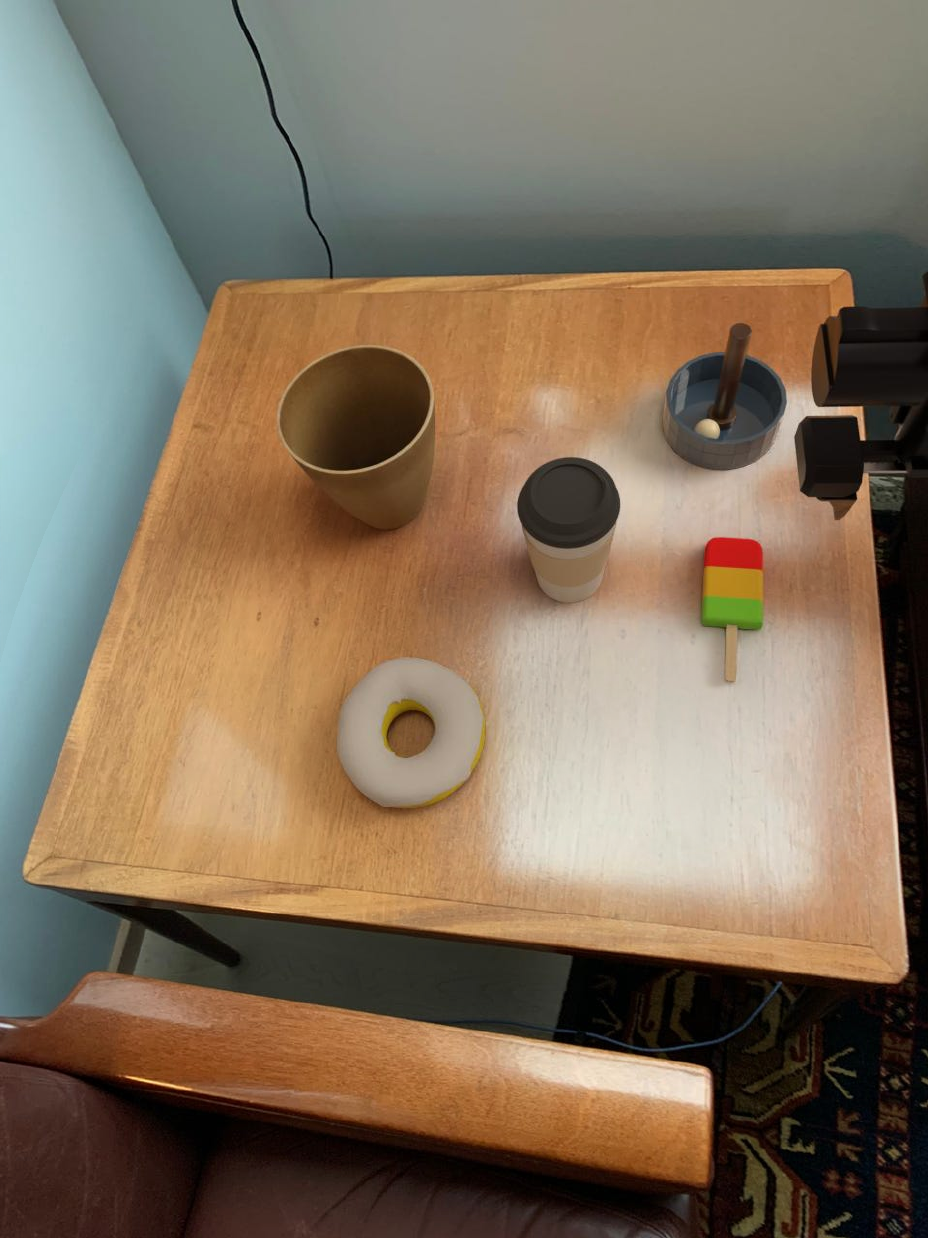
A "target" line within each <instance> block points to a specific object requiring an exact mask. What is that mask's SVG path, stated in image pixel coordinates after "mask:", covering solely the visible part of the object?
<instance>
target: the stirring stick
mask: <svg viewBox="0 0 928 1238" xmlns="http://www.w3.org/2000/svg"><path fill="white" fill-rule="evenodd" d="M752 333H753V330H752V328H751V326H750V325H749V324H747V323H745V322H738V323H734V324H733V325H732V326H731V327H730V328H729V332H728V336H727V341H726V346H725V350H724V352H725V355H724V360H723V364H722V369H721V374H720V378H719V383H718V388H717V392H716V397H715V402H714V403H713V404H712V405H711V406H710V407H709V408H708V411H707V416H706V419H711V420H714V421H715V422H716V423H717V424H718V426H719V428H720V430H726V429H729V428H730V427H732V426H733V424H734V423H735V419H736V415H737V411H736V409H735V407H734V403H735V399H736V395H737V391H738V387H739V382H740V378H741V374H742V370H743V366H744V362H745V358H746V355H748V349H749V345H750V342H751V337H752Z"/></svg>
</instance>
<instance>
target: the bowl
mask: <svg viewBox="0 0 928 1238" xmlns="http://www.w3.org/2000/svg"><path fill="white" fill-rule="evenodd" d="M724 355H725V351H714V352H710V353H706V354H701V355H699V356H697V357H694V358H692V359H690V360H688V361H686V362H685V363H684V364H683V365H681V366H680V367H679V368H678V369H677V370H676V371H675V372H674V374H673V375H672V377H670V379H669V382H668V384H667V388H666V391H665V400H664V406H663V413H662V431H663V434H664V437H665V439H666V442H667V443H668V445H669V446H670V448H671V449H672V450H673V451H674V452H675V453H676V454H677V455H678V456H679V457H681V458H682V459H683V460H685V461H686V462H689V463H690V464H692V465H694V466H698V467H700V468H704V469H708V470H716V471H718V470H719V471H725V470H726V471H727V470H734V469H740V468H744V467H746V466H748V465H751V464H753V463H755V462H756V461H758V460H760V459H761V458H762V457H764V456H765V455H766V454H767V453H768V452H769V450H770V449H771V448H772V447H773V445H774V443H775V441H776V439H777V436H778V434H779V430H780V427H781V425H782V421H783V419H784V416H785V412H786V409H787V403H788V399H787V389H786V387H785V385H784V383H783V381H782V379H781V377H780V376H779V374H778V373H777V372H776V371H775V370H774V369H773V368H772V367H771V366H770V365H769V364H766V362H764V361H762V360H761V359H759V358H756V357H754V356H751V355H748V354H746V358H745V362H744V366H743V370H742V374H741V378H740V382H739V387H738V391H737V395H736V399H735V403H734V407H735V409H736V411H737V415H736V419H735V423H734V424H733V426H732V427H730V428H729V429H726V430H720V434H719V437H718V438H717V439H713V438H708V437H705V436H703V435H700V434H698V433H696V432H694V429H695V427H696V425H697V424H698V423H699V422H700V421H702V420H704V419H706V416H707V411H708V408H709V407H710V406H711V405H712V404H713V403H714V402H715V397H716V392H717V388H718V383H719V378H720V374H721V369H722V364H723V360H724Z"/></svg>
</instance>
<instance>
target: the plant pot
mask: <svg viewBox="0 0 928 1238" xmlns="http://www.w3.org/2000/svg"><path fill="white" fill-rule="evenodd" d="M288 383H289V384H288V385H287V386H286V388H285V390H284V391H283V393H282V395H281V397H280V399H279V403H278V405H277V409H276V429H277V430H276V431H277V433H278V434H277V435H278V437H279V440H280V442H281V444H282V446H283V447H284V449H285V450H286V451H287V452H288V454H289V455H290V456H291V457H292V459H293V461H295V462H296V464H297V465H298V466H299V467H300V468H301V469H302V471H303V472H304V473H305V474H306V475H307V476H308V478H309V479H310V480H311V481H312V482H313V483H314V484H315V485H316V486H317V487H318V488H319V489H320V490H321V491H322V493H324V494H325V495H326V496H327V497H329V498H330V499H331V500H332V501H333V502H334V503H335V504H337V505H338V506H339V507H340V508H342V509H343V510H345V511H346V512H347V513H348V514H350V515H351V516H353V517H355V518H356V519H358V520H359V521H361V522H363V523H365V524H366V525H368V526H370V527H372V528H374V529H378V530H385V531H386V530H395V529H398V528H399V529H400V528H402V527H404V526H406V525H408V524H409V523H412V522H413V521H414V520H415V518H417V516H418V515H419V513H420V512H421V510H422V508H423V505H424V503H425V499H426V496H427V493H428V491H429V486H430V482H431V478H432V472H433V466H434V457H435V448H436V446H435V445H436V405H435V392H434V386H433V384H432V380H431V379H430V376H429V374H428V373H427V371H426V369H425V368H424V367H423V365H422V364H421V363H420V362H419V361H417V360H416V359H415V358H414V357H412V356H411V355H409V354H407V353H405V352H403V351H401V350H399V349H396V348H394V347H390V346H386V345H385V346H384V345H379V344H359V345H351V346H345V347H343V348H339V349H334V350H333V351H330V352H327V353H325V354H324V355H322V356H319V357H318V358H316V359H315V360H313V361H311V362H310V363H309V364H307V365H306V366H305V367H304V368H302V369H301V370H300V371H299V372H298V373H297V374H296V375H295V376H294V377H293V379H291V381H290V382H288Z"/></svg>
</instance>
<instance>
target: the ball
mask: <svg viewBox="0 0 928 1238" xmlns="http://www.w3.org/2000/svg"><path fill="white" fill-rule="evenodd" d="M694 432H696V433H698V434H700V435H703V436H705V437H708V438H713V439H717V438H718V437H719V434H720V428H719V426H718V424H717V423H716V422H715V421H714V420H711V419H704V420H702V421H700V422H699V423H698V424H697V425H696V427H695V429H694Z"/></svg>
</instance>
